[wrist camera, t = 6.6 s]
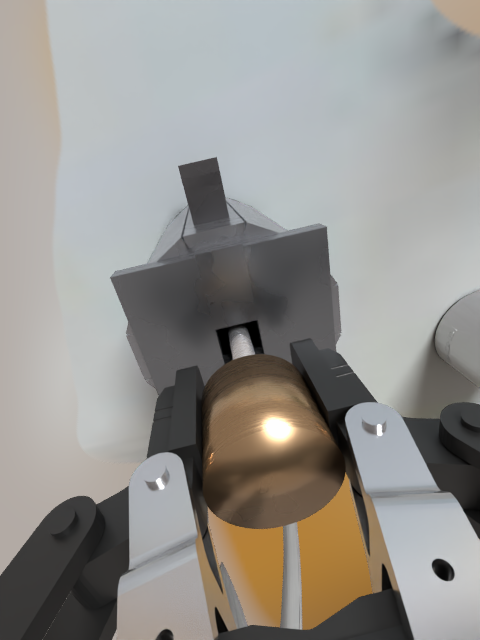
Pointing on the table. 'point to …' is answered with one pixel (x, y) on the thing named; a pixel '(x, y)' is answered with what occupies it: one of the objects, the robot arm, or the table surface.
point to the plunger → (265, 442)
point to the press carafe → (225, 285)
